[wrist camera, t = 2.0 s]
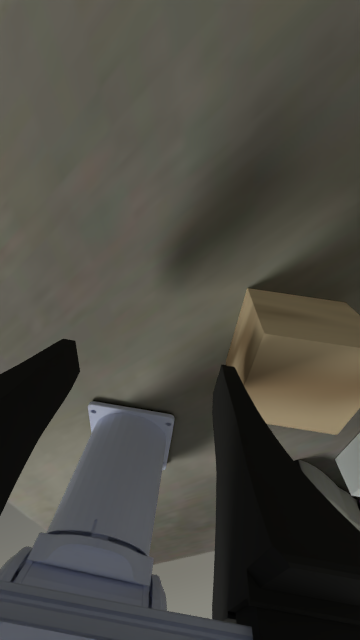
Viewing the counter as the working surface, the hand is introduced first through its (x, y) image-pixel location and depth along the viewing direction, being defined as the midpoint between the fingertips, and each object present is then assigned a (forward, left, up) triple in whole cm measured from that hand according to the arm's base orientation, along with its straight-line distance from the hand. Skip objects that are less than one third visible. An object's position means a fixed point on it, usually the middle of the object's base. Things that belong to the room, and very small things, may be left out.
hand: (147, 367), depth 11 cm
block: (0, -8, -5) cm, 10 cm away
